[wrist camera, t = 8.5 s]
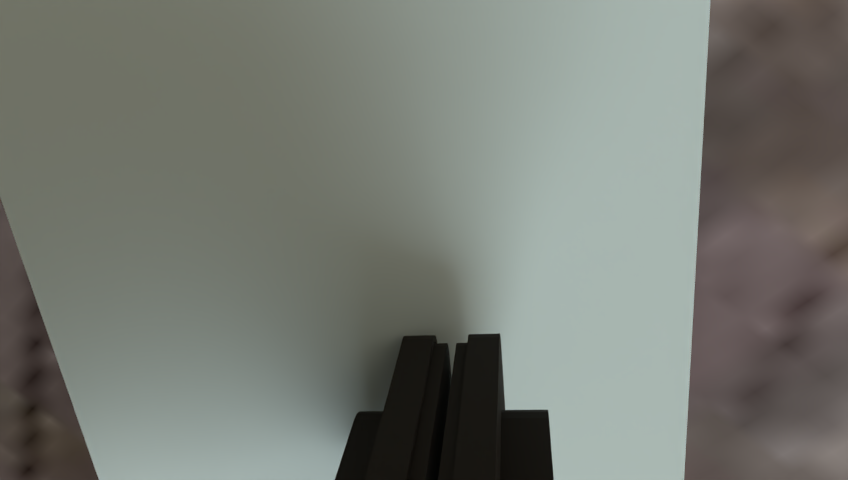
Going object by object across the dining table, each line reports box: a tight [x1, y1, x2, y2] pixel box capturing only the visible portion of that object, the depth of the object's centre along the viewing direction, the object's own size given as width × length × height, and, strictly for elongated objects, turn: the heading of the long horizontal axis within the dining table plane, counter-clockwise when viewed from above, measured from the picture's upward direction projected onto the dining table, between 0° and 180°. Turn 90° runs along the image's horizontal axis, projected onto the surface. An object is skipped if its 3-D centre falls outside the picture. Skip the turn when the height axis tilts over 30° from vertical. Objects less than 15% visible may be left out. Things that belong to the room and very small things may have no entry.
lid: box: [0, 0, 710, 480], centre depth 13 cm, size 20×12×1 cm
